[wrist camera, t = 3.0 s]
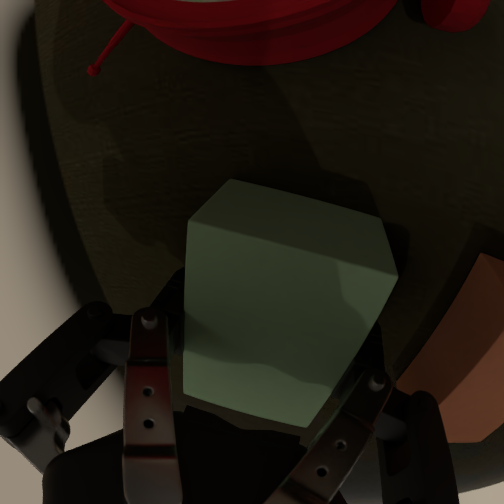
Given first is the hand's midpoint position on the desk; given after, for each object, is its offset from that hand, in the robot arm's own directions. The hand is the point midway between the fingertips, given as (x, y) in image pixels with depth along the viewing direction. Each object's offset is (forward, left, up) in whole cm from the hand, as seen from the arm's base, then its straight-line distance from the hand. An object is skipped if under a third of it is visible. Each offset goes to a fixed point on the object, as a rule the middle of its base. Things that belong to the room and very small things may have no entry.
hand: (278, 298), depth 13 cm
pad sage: (0, 0, -1) cm, 1 cm away
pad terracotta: (0, +11, -1) cm, 11 cm away
